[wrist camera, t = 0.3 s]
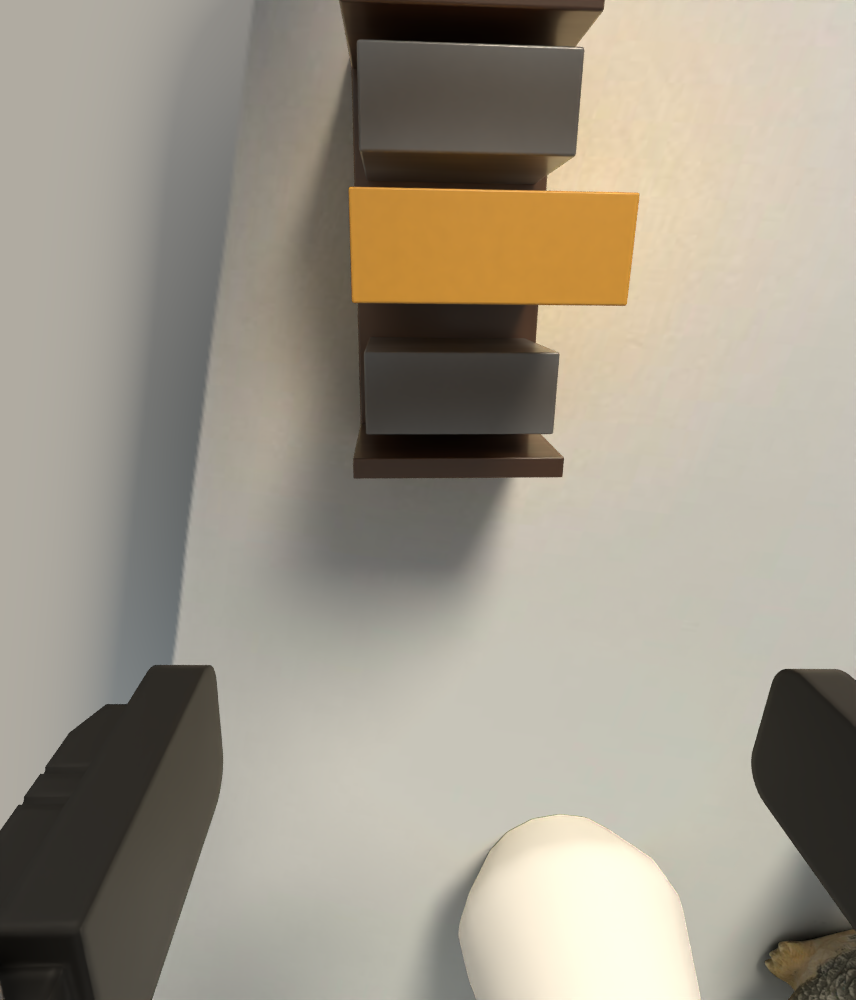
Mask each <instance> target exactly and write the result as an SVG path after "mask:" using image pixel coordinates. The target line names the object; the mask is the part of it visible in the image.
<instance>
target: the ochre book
mask: <svg viewBox="0 0 856 1000" xmlns="http://www.w3.org/2000/svg"><path fill="white" fill-rule="evenodd" d="M638 203H639V193H624V192H576V191H528V190H480V189H432V188H384V187H349V223H350V257H351V291H352V302H353V303H406V304H506V305H606V306H625V305H626V304H627V298H628V290H629V281H630V272H631V264H632V255H633V246H634V238H635V229H636V221H637V212H638Z"/></svg>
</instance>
